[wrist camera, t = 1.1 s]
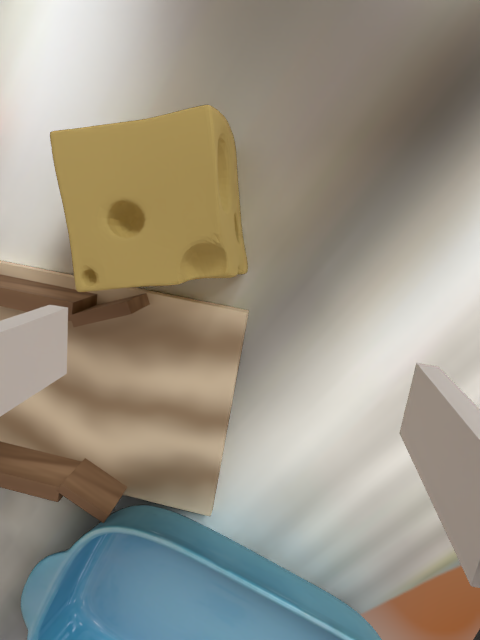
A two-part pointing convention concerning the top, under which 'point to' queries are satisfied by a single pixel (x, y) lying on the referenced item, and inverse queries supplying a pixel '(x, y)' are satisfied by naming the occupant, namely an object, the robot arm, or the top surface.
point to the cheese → (151, 200)
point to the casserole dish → (175, 588)
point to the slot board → (123, 397)
